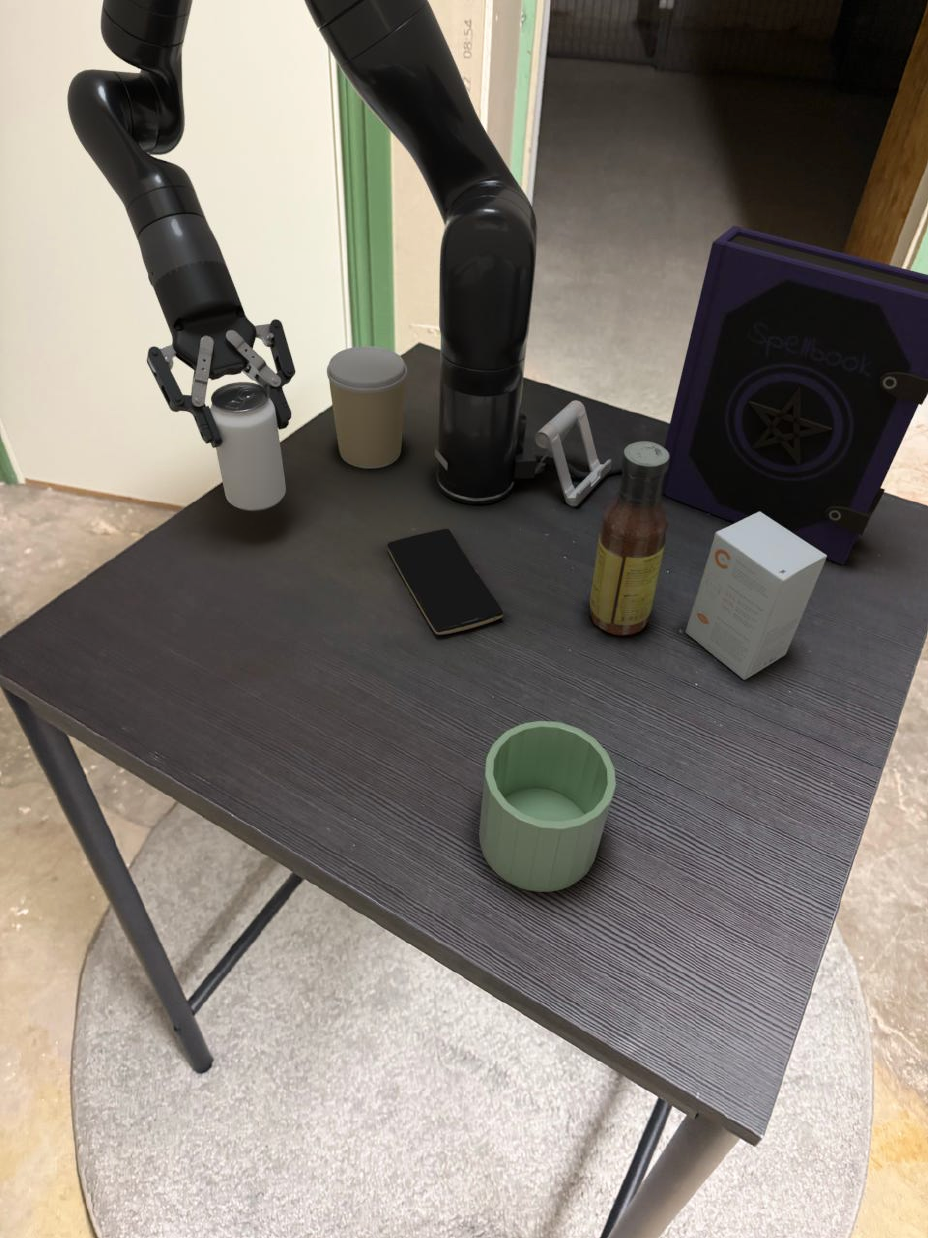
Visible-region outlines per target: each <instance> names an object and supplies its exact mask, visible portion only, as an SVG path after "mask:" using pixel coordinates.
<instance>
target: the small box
mask: <svg viewBox="0 0 928 1238" xmlns="http://www.w3.org/2000/svg"><path fill="white" fill-rule="evenodd" d="M826 557H827V555H826V554H824V553H822V552H821V551H819V550H818V549H816V548H815V547H813V546H812V545H810V544H809V543H807V542H806V541H804V540H803V539H801V538H799V537H798V536H796V535H795V534H793V533H792V532H790V531H789V530H787V529H786V528H784V527H783V526H781V525H780V524H778V523H777V522H775V521H774V520H772V519H771V518H769V517H767V516H766V515H765V514H763V513H762V512H757V513H755V514H753V515H751V516H749V517H747V518H745V519H743V520H741V521H739V522H737V523H733V524H731V525H729V526H726V527H724V528H722V529H720V530H718V531H717V530H716V531H715V533H714V537H713V540H712V544H711V546H710V551H709V553H708V556H707V560H706V563H705V566H704V570H703V573H702V575H701V579H700V582H699V586H698V589H697V592H696V595H695V599H694V603H693V605H692V608H691V611H690V616H689V619H688V622H687V626H686V629H685V634H686V635H688V636H689V637H690V638H691V639H693V640H694V641H695V642H696V643H698V644H699V645H700V646H701V647H703V648H704V649H705V650H706V651H708V652H709V653H710V654H711V655H712V656H713V657H715V658H716V659H717V660H719V661H720V662H721V663H722V664H724V665H725V666H726V667H727V668H728V669H729V670H731V671H732V672H733V673H735V674H736V675H737V676H738V677H739V678H741V679H742V680H744V681H746V680H747V679H749V678H750V677H751V678H752V676H754V675H755V674H757V673H758V672H760V671H763V669H765V668H767V667H768V666H770V665H771V664H773V663H775V662H777V661H778V660H780V659H781V658H783V657H784V656H786V655H787V653H788V651H789V648H790V646H791V643H792V641H793V638H794V636H795V634H796V632H797V629H798V627H799V625H800V623H801V620H802V617H803V615H804V612H805V610H806V607H807V605H808V603H809V601H810V599H811V597H812V594H813V591H814V589H815V588H816V587H815V586H816V584H817V581H818V579H819V576H820V574H821V573H822V569H823V567H824V565H825V562H826V560H827V559H826Z"/></svg>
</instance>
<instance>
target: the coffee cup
mask: <svg viewBox="0 0 928 1238" xmlns="http://www.w3.org/2000/svg"><path fill="white" fill-rule="evenodd" d="M326 376H327V379H328V384H329V390H330V398H331V404H332V412H333V419H334V426H335V432H336V438H337V445H338V451H339V454H340V457H341V459H342V460H343V461H344V462H345V463H347V464H348V465H350V466H353V467H356V468H360V469H361V468H362V469H380V468H385V467H387V466H390V465H392V464H394V463H395V462H396V461H397V460H398V459H399V457H400V456H401V452H402V445H403V444H402V443H403V432H404V431H403V430H404V429H403V428H404V418H405V417H404V416H405V415H404V414H405V399H406V398H405V397H406V380H407V376H408V367H407V365H406V363H405V361H404V359H403V357H402V356H401V355H400V354H398V353H397V352H395V351H393V350H391V349H389V348H384V347H381V346H372V345H361V346H353V347H349V348H346V349H343V350H341V351H339V352H337V353H335V354H334V355H333V356H332V357H331V358H330V359H329V362H328V365H327V366H326Z"/></svg>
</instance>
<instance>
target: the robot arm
mask: <svg viewBox="0 0 928 1238" xmlns="http://www.w3.org/2000/svg"><path fill="white" fill-rule="evenodd" d="M303 1H304V4H305V6H306V8H307V10H308V13H309V15H310V17H311V18H312V19H311V20H312V21H313V23H314V25H315V26H316V29H318V32H319V33H320V36H321V37H322V39H323V41H324V42H325V44H326V46H327V48H328V49H329V52H330V53H331V55H332V56H333V58H334V60H335V62H336V64H337V65H338V67H339V69H340V70H341V72H342V73H343V75H344V76H345V77H344V78H346V80H347V81H348V83H349V84H350V86H351V88H352V89H353V90H354V92H355V93H356V94H357V96H358V97H359V98H360V99H361V100H362V102H363V103H364V104H365V106H366V107H367V108H368V109H369V110H370V111H371V112H372V113H373V115H374V116H376V118H377V119H378V120H379V121H380V122H381V123H382V125H384V126H385V128H387V130H388V131H389V132H390V133H391V134H392V135H393V136H394V137H395V139H396V140H397V141H398V142H399V143H400V144H401V145H402V146H403V148H404V149H405V150H406V151H407V153H408V154H409V155H410V157H411V159H412V160H413V162H414V163H415V165H416V167H417V168H418V170H419V172H420V174H421V176H422V178H423V180H424V181H425V183H426V186H427V187H428V190H429V192H430V194H431V196H432V198H433V200H434V203H435V206H436V207H437V210H438V212H439V215H440V217H441V219H442V222H443V225H444V228H443V232H442V237H441V242H440V251H439V272H438V273H439V274H438V275H439V278H438V279H439V281H438V282H439V283H438V285H439V286H438V287H439V289H438V290H439V291H438V292H439V293H438V328H439V333H440V346H439V347H440V350H439V351H440V352H439V393H438V394H439V395H438V396H439V397H438V432H437V433H438V437H437V448H434V457H435V458H436V459H437V466H436V485H437V487H438V489H439V491H441V493H443V494H444V495H445V496H446V497H447V498H450V499H452V500H454V501H455V502H459V503H462V504H468V505H488V504H492V503H496V502H498V501H502V500H503V499H505V498H507V496H509V495H510V494H511V492H512V491H513V489H514V487H516V486H519V485H520V484H521V479H534V478H536V474H535V470H536V466H537V463H540V462H541V459H542V457H543V456H544V455H540V454H535V451H534V447H533V444H532V442H531V441H532V440H531V437H529V436H527V437H526V430H527V429H526V428H527V420H528V419H527V414H526V412H524V410H523V411H522V409H521V407H522V397H523V395H522V394H523V385H524V375H525V365H526V355H527V347H528V346H527V345H528V339H529V338H528V337H529V332H530V322H531V321H530V320H531V314H532V313H531V312H532V305H533V304H532V303H533V302H532V301H533V292H534V284H535V275H536V274H535V273H536V264H537V263H536V261H537V243H538V224H537V218H536V214H535V211H534V209H533V206H532V204H531V202H530V200H529V198H528V197H527V195H526V193H525V192H524V190H523V189H522V187H521V185H520V184H519V182H518V181H517V179H516V177H514V174H513V173H512V172H511V170H510V167H508V166H507V163H506V162H505V160H504V159H503V157H502V155H501V154H500V152H499V151H498V149H497V148H496V146H495V144H494V142H493V141H492V139H491V137H490V136H489V134H488V132H487V130H486V129H485V127H484V125H483V124H482V122H481V120H480V118H479V115H478V114H477V111H476V109H475V107H474V105H473V103H472V100H471V98H470V94H469V92H468V90H467V88H466V87H467V86H466V85H465V82H464V79H463V77H462V75H461V72H460V70H459V68H458V65H457V63H456V60H455V58H454V56H453V54H452V51H451V49H450V46H449V44H448V42H447V39H446V37H445V35H444V33H443V31H442V29H441V26H440V24H439V21H438V19H437V17H436V15H435V13H434V10H433V9H432V5H431V4H430V1H428V0H303ZM193 3H194V1H193V0H102V6H101V13H100V14H101V15H100V34H101V37H102V40H103V42H104V44H105V45H106V47H107V49H109V50H110V52H111V53H112V54H113V55H114V56H116V58H118V59H119V60H121V61H123V62H124V63H126V64H128V65H130V66H132V67H134V68H137V69H139V70H140V71H139V72H130V71H119V70H107V69H95V68H93V69H92V68H91V69H84V70H82V71H80V72H77V74H75V76H73V78H72V79H71V81H70V84H69V86H68V90H67V97H66V98H67V99H66V101H67V102H66V103H67V111H68V116H69V120H70V123H71V125H72V128H73V131H74V133H75V134H76V136H77V139H78V141H79V142H80V144H81V145H82V147H83V149H84V150H85V151H86V153H87V154H88V156H89V157H90V159H91V160H92V161H93V163H94V164H95V165H96V166H97V168H98V170H99V171H100V172H101V174H102V175H103V176H104V178H105V180H106V181H107V183H108V184H109V185H110V186H111V188H112V190H113V191H114V192H115V194H116V195H117V197H118V198H119V200H120V201H121V203H122V204H123V206H124V209H125V211H126V214H127V217H128V219H129V223H130V224H131V227H132V230H133V232H134V235H135V237H136V240H137V243H138V246H139V249H140V253H141V258H142V261H143V265H144V267H145V270H146V273H147V279H148V281H149V284H150V286H151V287H152V289H153V291H154V293H155V296H156V299H157V302H158V304H159V306H160V309H161V311H162V314H163V317H164V319H165V321H166V324H167V326H168V330H169V332H170V334H171V339H172V340H171V341H172V343H171V344H168V345H165V346H163V347H160V348H159V347H158V346H155V345H154V346H151V347H149V348H148V351H147V356H146V364H147V366H148V368H149V370H150V371H151V374H152V376H153V377H154V379H155V382H156V383H157V386H158V388H159V390H160V392H161V394H162V395H163V398H164V400H165V402H166V404H167V405H168V408H169V409H170V411H172V412H174V413H178V412H187V413H190V414H191V415H192V416H193V419H194V422H195V424H196V426H197V429H198V432H199V434H200V436H201V439H202V441H203V442H204V443H205V445H207V444H210V445H211V447H212V449H216V447H219V446H221V444H222V439H221V436H220V434H219V431H218V428H217V426H216V423H215V421H214V418H213V416H212V413H211V410H210V408H211V407H210V405H206V396H207V389H208V384H209V380H210V381H216V380H219V379H221V378H223V377H224V376H234V375H239V374H240V375H241V374H242V373H243V374H244V375H245V376H246V377H248V378H249V380H251V381H254V382H255V383H256V384H259V385H261V386H263V387H264V388H266V389H267V391H268V393H269V398H270V399H271V401H272V402H273V404H274V407H275V412H276V418H277V425H278V431H280V430H284V429H287V428H288V427H289V425H290V420H291V419H292V411H291V408H290V405H289V402H288V400H287V396H286V395H285V391H284V389H283V388H284V386H286V385H288V384H289V383H290V382H291V381H292V379H293V377H295V375H296V368H295V364H294V360H293V357H292V353H291V350H290V347H289V343H288V339H287V336H286V333H285V329H284V325H283V323H282V321H281V320H280V319H277V318H275V319H272V320H271V321H270V323H265V324H257V325H255V324H254V323H253V322H252V321H250V319H249V318H248V317H247V315H246V313H245V309H244V306H243V304H242V302H241V299H240V297H239V294H238V292H237V289H236V287H235V283H234V280H233V278H232V275H231V273H230V270H229V267H228V265H227V263H226V260H225V258H224V255H223V252H222V249H221V247H220V245H219V242H218V240H217V238H216V236H215V234H214V233H213V231H212V229H211V227H210V225H209V222H208V220H207V218H206V215H205V212H204V210H203V207H202V205H201V202H200V200H199V197H198V193H197V191H196V189H195V186H194V184H193V181H192V179H191V177H190V175H189V174H188V172H186V170H185V169H184V168H183V167H181V166H180V165H178V164H176V163H174V162H170V161H168V160H165V159H161V158H158V157H155V156H163V155H167V154H169V153H171V152H173V151H174V150H175V149H176V147H177V146H178V145H179V144H180V142H181V140H182V138H183V136H184V133H185V127H186V114H185V101H184V87H183V47H184V44H185V43H184V42H185V38H186V33H187V29H188V25H189V20H190V16H191V10H192V6H193ZM256 339H259V340H260V341H262V344H263V345H264V346H265V347H267V348H269V350H270V352H271V356H272V359H273V363H274V367H275V371H276V372H275V371H274V370H273V369H272V368H271V367H270V366H268V364H267V362H266V360H265V359H264V358H263V357H262V356H261V355H259V354H258V353H257V351H255V350H254V346H255V343H256ZM174 358H176V359H178V361H180V362H181V363H183V364H184V365H185V366H187V367H189V368H190V369H192V370H193V375H192V383H191V392H190V394H183V393H182V390H181V388H180V386H179V384H178V382H177V381H176V378H175V376H174V374H173V371H172V370H173V367H174ZM542 463H545V464H546V465H551V466H555V467H556V465H555V462H554V458H553V456H552V457H546V458H545V459H544V460H543V461H542ZM566 463H567V467H568V470H569V474H570V476H571V477H574V478H576V479H579V480H584V479H585V478H586V477H587V476H588V475H589V474H590V471H588V472H585V471H579V470H577V469H576V468H575V467H574V466H573V465H572V464H571V463H569V462H567V461H566ZM622 472H623V466H622V464H620V465H614V466H611V470H610V471H609V472H608V474H607V475H606V476H605V477H608V476H612V475H615V474H620V473H622Z"/></svg>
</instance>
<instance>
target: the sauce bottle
mask: <svg viewBox="0 0 928 1238" xmlns="http://www.w3.org/2000/svg"><path fill="white" fill-rule="evenodd" d="M669 459H670V455H669V453H668V451H667V450H666V449H665V448H664V446H662V445H661V444H658V443H656V442H654V441H646V440H645V441H644V440H643V441H635V442H632V443H630V444H628V445H626V447H625V448H624V450H623V453H622V458H621V465H622V466H623V472H621V479H620V483H619V486H618V490H617V491H616V492H615V493H614V495H612V497H610V499H608V500H607V501H606V503H605V506H604V508H603V514H602V518H601V519H602V520H601V527H600V531H599V534H598V541H597V548H596V557H595V562H594V563H595V565H594V570H593V578H592V584H591V589H590V590H591V591H590V597H589V598H590V599H589V606H590V610H589V611H590V616H591V619H592V622H593V624H594V625H595V626H597V627H598V628H599V629H601V630H603V631H604V632H606V633H608V634H611V635H614V636H620V637H621V636H631V635H634V634H638V633H639V632H641V631H642V630H643V629H644V628H645V627H646V625H647V624H648V622H649V620H650V615H651V613H652V609H653V605H654V600H655V595H656V590H657V586H658V580H659V576H660V575H659V574H660V572H661V571H660V570H661V566H662V561H663V556H664V551H665V546H666V541H667V540H666V539H667V529H668V525H669V523H668V519H667V517H666V514H665V513H666V512H665V510H664V506H663V502H662V495H663V494H662V486H663V480H664V475H665V473H666V472H667V470H668V467H669Z"/></svg>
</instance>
